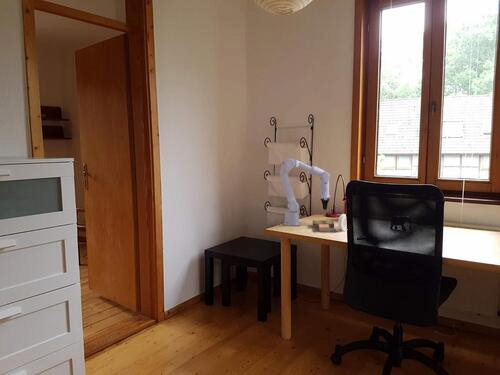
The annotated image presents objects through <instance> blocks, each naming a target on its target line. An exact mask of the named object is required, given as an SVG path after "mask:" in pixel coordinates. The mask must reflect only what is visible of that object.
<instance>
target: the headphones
mask: <svg viewBox="0 0 500 375" xmlns="http://www.w3.org/2000/svg"><path fill="white" fill-rule="evenodd" d="M339 215H340V216H339V217H338V220H337V221H338V222H337V226H338V229H339V231H340V232H341V231H343V232H346V231H347V230H346V214H344V213H341V214H339Z"/></svg>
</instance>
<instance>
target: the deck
mask: <svg viewBox="0 0 500 375" xmlns="http://www.w3.org/2000/svg"><path fill="white" fill-rule="evenodd" d="M333 220H334V219H333ZM333 220H332V219H331V220H330V219H329V220H327V219H326V220H314V219H313V220H312V229H313V228H319V224H328V225H329V228H335V222H334V221H333Z"/></svg>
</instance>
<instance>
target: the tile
mask: <svg viewBox="0 0 500 375" xmlns="http://www.w3.org/2000/svg"><path fill="white" fill-rule="evenodd" d="M319 231H330V229H329V225H328V224H319Z"/></svg>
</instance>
